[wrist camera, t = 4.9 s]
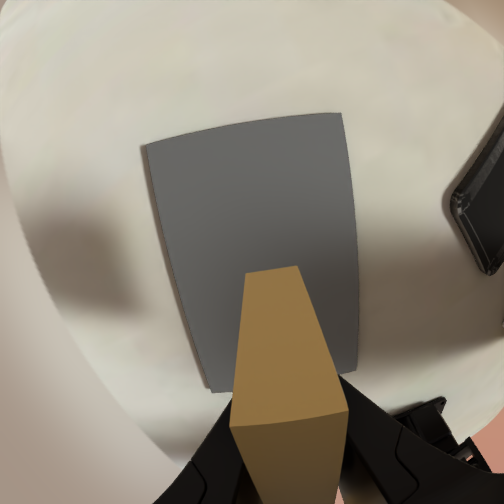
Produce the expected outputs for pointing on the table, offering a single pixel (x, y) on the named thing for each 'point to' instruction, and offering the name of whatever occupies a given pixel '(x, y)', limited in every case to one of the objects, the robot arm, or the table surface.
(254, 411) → the ochre block
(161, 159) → the charcoal mat
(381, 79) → the table surface
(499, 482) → the robot arm
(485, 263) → the phone
